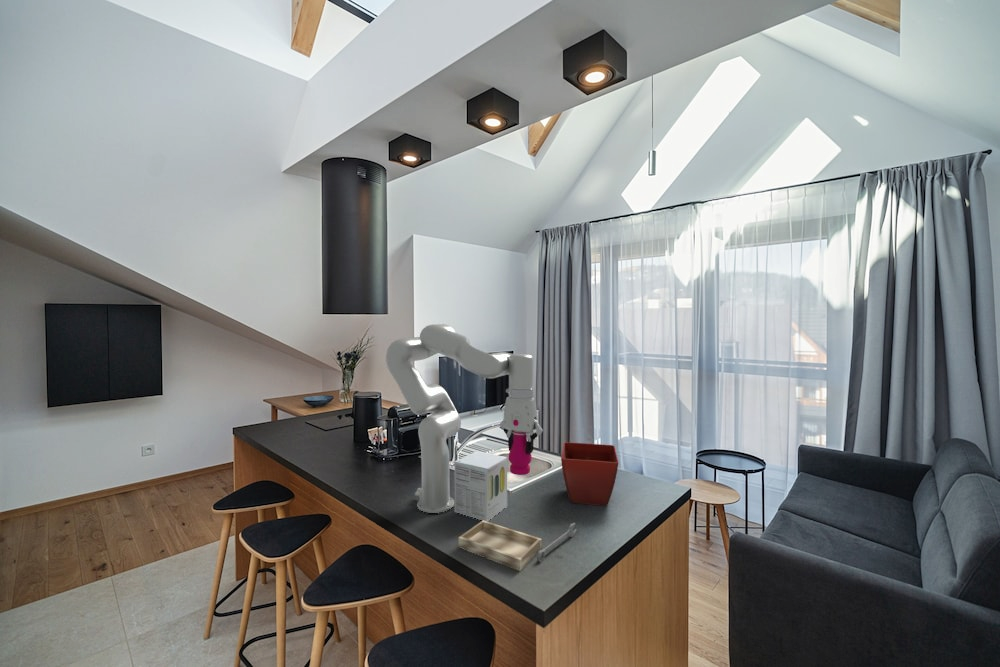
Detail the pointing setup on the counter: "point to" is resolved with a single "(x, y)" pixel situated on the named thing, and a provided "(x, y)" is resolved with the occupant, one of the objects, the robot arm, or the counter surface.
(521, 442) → the pepper mill
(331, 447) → the counter surface
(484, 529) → the wooden tray
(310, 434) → the counter surface
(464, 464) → the supplement box
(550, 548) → the combination wrench
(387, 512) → the counter surface
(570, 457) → the plant pot
